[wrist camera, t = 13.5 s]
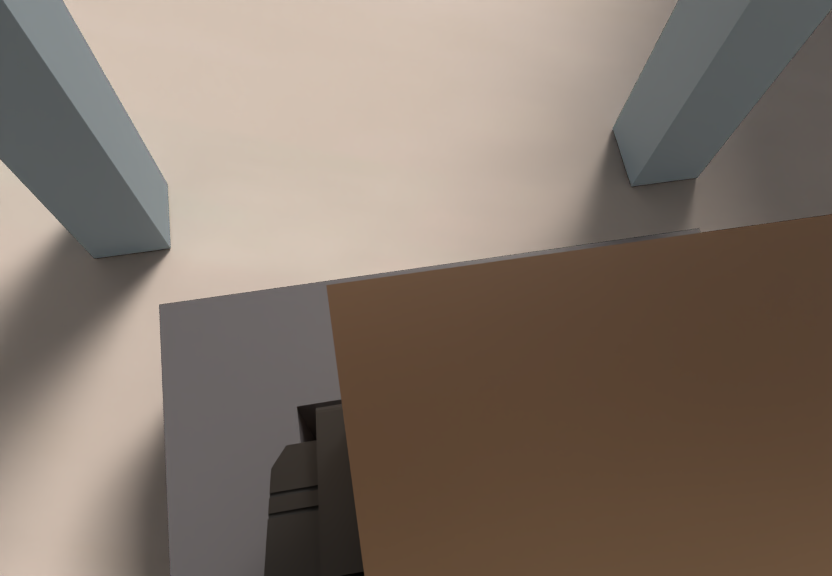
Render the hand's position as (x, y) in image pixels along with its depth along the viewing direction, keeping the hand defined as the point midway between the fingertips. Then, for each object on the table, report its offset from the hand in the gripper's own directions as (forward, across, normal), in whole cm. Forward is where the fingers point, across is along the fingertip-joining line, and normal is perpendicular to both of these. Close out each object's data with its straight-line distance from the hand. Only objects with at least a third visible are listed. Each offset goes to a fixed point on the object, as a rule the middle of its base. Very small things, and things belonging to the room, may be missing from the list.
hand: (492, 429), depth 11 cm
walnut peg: (+2, 0, +5) cm, 5 cm away
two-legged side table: (+6, 0, +2) cm, 7 cm away
